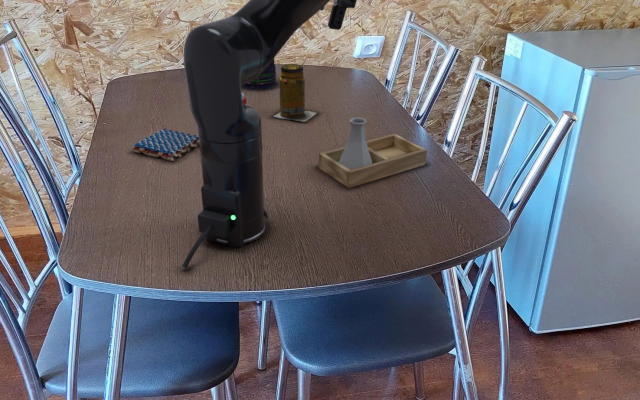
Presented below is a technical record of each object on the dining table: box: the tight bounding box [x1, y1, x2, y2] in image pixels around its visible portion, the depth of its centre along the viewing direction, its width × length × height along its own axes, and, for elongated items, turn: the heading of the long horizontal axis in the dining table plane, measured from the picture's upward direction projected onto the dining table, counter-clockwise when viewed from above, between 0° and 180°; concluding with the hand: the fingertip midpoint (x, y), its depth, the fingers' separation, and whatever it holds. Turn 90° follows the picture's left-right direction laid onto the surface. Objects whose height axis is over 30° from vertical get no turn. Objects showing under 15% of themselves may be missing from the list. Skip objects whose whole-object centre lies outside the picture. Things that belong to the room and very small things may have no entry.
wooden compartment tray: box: [318, 133, 428, 189], centre depth 113 cm, size 10×19×3 cm, turn 124°
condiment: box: [272, 63, 317, 123], centre depth 136 cm, size 7×8×12 cm
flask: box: [339, 117, 372, 170], centre depth 108 cm, size 7×7×10 cm
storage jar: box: [241, 58, 277, 91], centre depth 155 cm, size 10×10×15 cm
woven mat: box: [132, 128, 200, 162], centre depth 119 cm, size 10×11×2 cm
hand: (325, 18), depth 96 cm, fingers open, 8 cm apart
